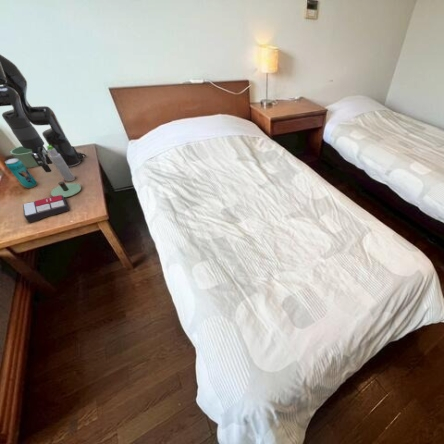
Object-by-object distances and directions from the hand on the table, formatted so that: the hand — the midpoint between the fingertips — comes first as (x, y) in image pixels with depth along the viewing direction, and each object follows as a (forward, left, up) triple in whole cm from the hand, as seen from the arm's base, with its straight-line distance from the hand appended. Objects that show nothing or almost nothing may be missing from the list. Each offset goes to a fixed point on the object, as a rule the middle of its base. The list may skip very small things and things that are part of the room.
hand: (49, 167), depth 121 cm
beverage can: (+1, -21, -15) cm, 26 cm away
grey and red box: (+14, +5, -15) cm, 21 cm away
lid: (0, 0, -14) cm, 14 cm away
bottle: (-10, -8, -15) cm, 20 cm away
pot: (-18, -41, -15) cm, 47 cm away
